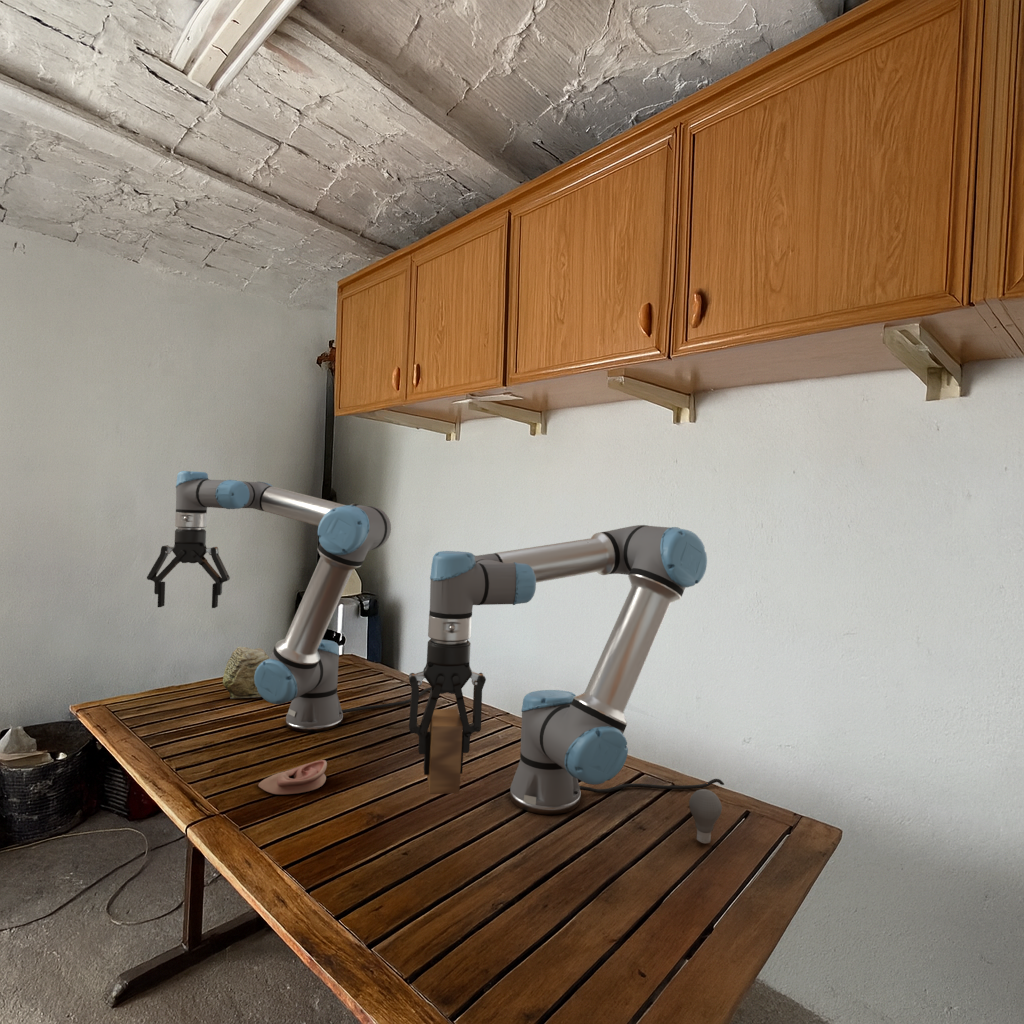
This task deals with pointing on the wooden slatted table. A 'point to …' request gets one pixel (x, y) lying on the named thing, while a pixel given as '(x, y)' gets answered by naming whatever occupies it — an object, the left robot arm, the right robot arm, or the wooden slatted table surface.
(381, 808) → the wooden slatted table surface
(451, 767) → the brick
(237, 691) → the fossil
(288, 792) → the anatomical model
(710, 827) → the light bulb
